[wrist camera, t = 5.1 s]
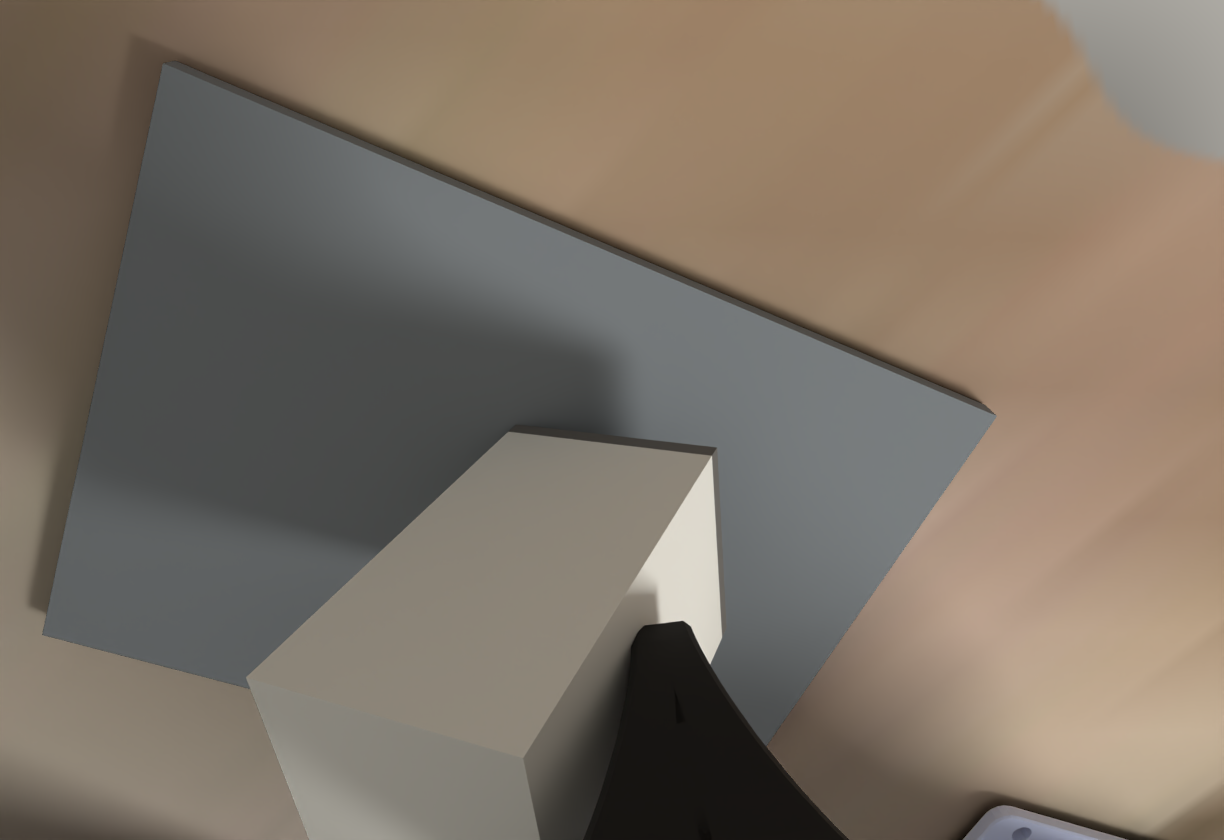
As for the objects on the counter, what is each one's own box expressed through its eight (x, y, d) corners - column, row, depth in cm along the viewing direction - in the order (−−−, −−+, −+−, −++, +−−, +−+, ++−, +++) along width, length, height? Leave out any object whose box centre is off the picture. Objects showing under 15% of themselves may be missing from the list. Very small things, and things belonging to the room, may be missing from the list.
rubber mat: (985, 405, 17) (996, 416, 17) (717, 794, 22) (720, 811, 22) (176, 61, 14) (163, 63, 13) (54, 619, 18) (41, 635, 18)
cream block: (716, 447, 15) (523, 758, 9) (726, 627, 17) (569, 979, 11) (516, 424, 16) (245, 677, 11) (544, 591, 18) (325, 882, 13)
